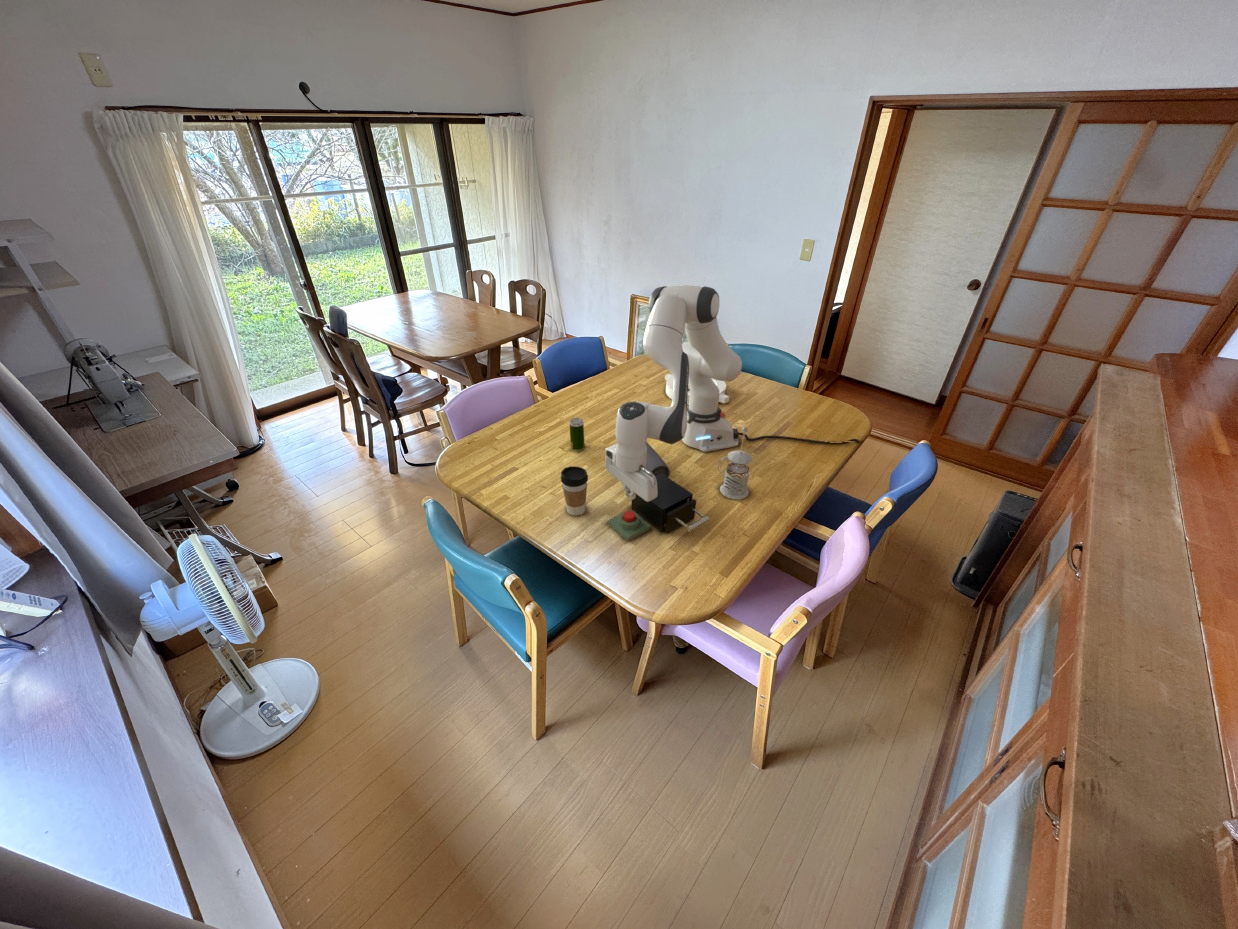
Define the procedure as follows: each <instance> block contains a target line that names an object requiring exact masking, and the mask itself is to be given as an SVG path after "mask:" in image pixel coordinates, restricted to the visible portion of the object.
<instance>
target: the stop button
mask: <svg viewBox="0 0 1238 929" xmlns="http://www.w3.org/2000/svg"><path fill="white" fill-rule="evenodd" d="M632 511H633V510H632ZM632 511H628V510H626V512H625V511H623V512H624V514H623V519H624V521H625V522H633V521H634V520H635V513H636V512H635V511H633V512H632ZM634 512H635V513H634Z"/></svg>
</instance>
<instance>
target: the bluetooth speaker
mask: <svg viewBox="0 0 1238 929" xmlns="http://www.w3.org/2000/svg"><path fill="white" fill-rule="evenodd" d="M646 446H647V463H646V466H645V468H647V469H648V470H649V471H651V472H652V473H653V475H654V476H656V475H658V474H660V473H662V474H664V475H665V476H667V477H668V478H670V475H671V471H670V468H669V466H668V465H667V463H666V462H665V461H664V460H663V458H662V457H661V456H660V455H659V454H658V452H657V451H656V450H655V449H654V448H653V447H652V446H651V445H650V444H649V442H647V441H646Z"/></svg>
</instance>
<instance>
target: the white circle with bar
mask: <svg viewBox="0 0 1238 929" xmlns="http://www.w3.org/2000/svg"><path fill="white" fill-rule="evenodd" d="M711 379H712V381H713V382H714V383H715V384H716V386H717V387H718V389H719V401H718V403H721V404H723V405H724V404H726V403H729V400H730V396H729V395H727V394H726V390H727V383H726V381H719V380H716V379H713V378H711ZM664 380H665V381H666V382H665V394H666V395H667V397H668V398H669V399H671V400H672V394H673V375H672V374H671V373H670V372H669V373H667V374H665V375H664ZM689 396H690V389H689V383H688V397H687V406H689Z"/></svg>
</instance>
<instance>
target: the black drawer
mask: <svg viewBox="0 0 1238 929" xmlns="http://www.w3.org/2000/svg"><path fill="white" fill-rule="evenodd" d="M696 506H697V500H696V499H695V498H692V500H691V501H689V498H688V499H686V500H684V501H683V502H681V503H679V504H677V505H675V506H673V507H671V508H669V509H667V510H665V512H664V525H663V527H665V531H664V532H665V533H666V534H670V533H672V532H673V531H675V530H677V529H679V528H681V527H684V528H686V531H687V532H689V533H690V532H692V531H694V530H696V529H697V528H699V527H700V526H702V525H704V524H706V523H708V522H709V521H710V517H709V516H708V515H704V514H702V513H701V512H700V511H698V510H696ZM696 515H698V516H699V517H700V519H697V521H694V522H693V523H691V524H690V525H688V523H690V522H691V521H693V520H695V516H696Z"/></svg>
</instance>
